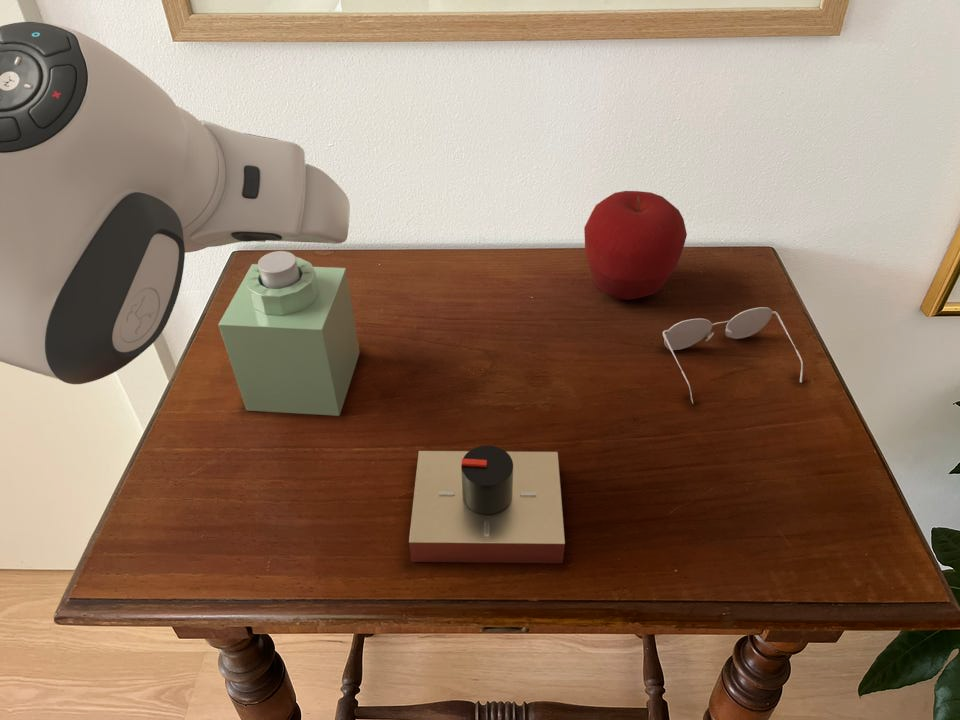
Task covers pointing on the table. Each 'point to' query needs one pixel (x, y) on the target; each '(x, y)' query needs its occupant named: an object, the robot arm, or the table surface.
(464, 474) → the knob
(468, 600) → the table surface
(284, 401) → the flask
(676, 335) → the sunglasses
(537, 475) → the panel
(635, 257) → the apple
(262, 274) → the grey cylindrical peg
